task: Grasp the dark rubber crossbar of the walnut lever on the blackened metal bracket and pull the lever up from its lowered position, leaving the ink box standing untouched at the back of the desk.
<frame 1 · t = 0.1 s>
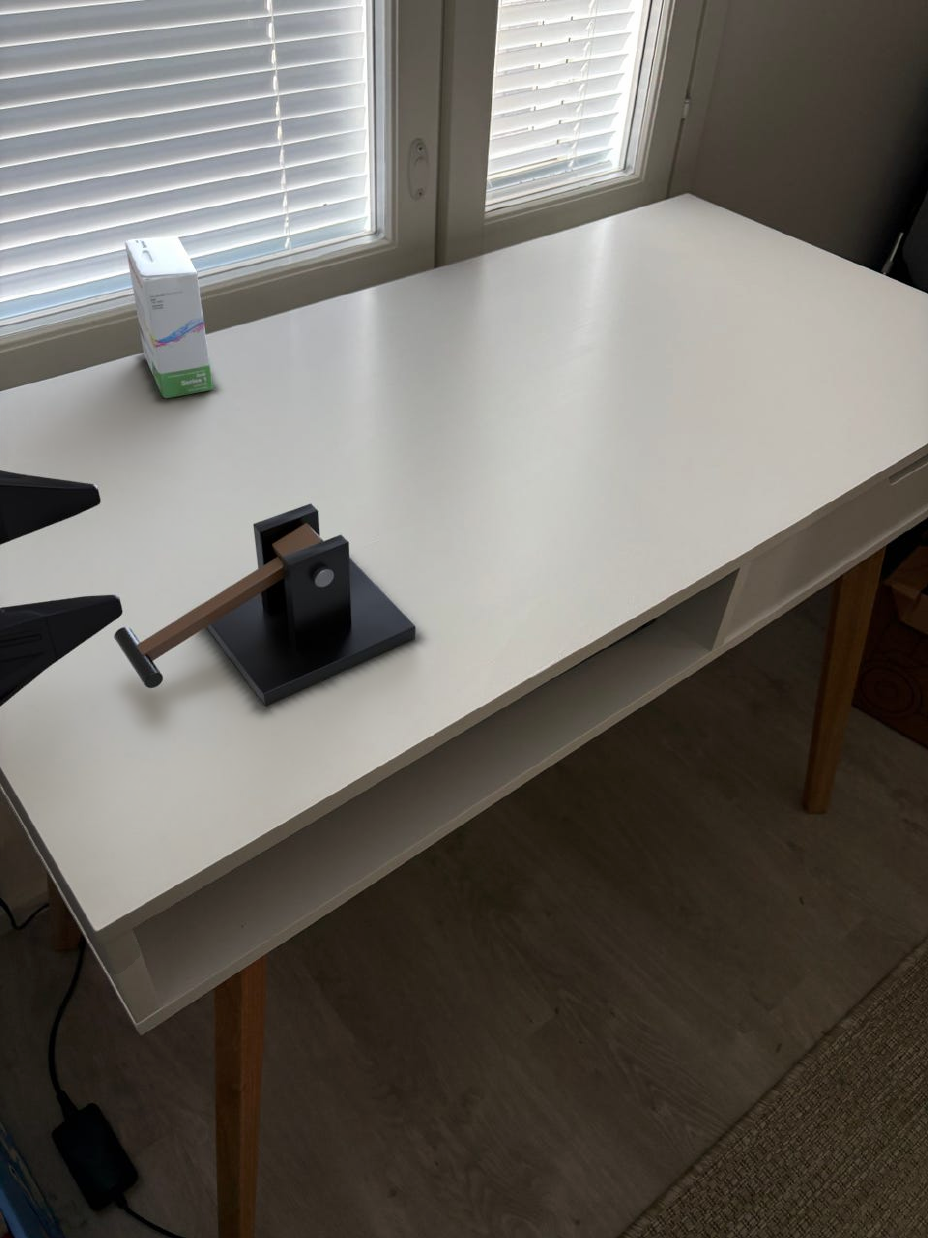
hand: (109, 545, 51), 18 cm above the table, tool horizontal, fingers open, 9 cm apart
ink box: (178, 375, 97), on the table
bracket: (307, 628, 73), on the table
lever: (227, 600, 66), point 5 cm above the table, hinge at -15.0°
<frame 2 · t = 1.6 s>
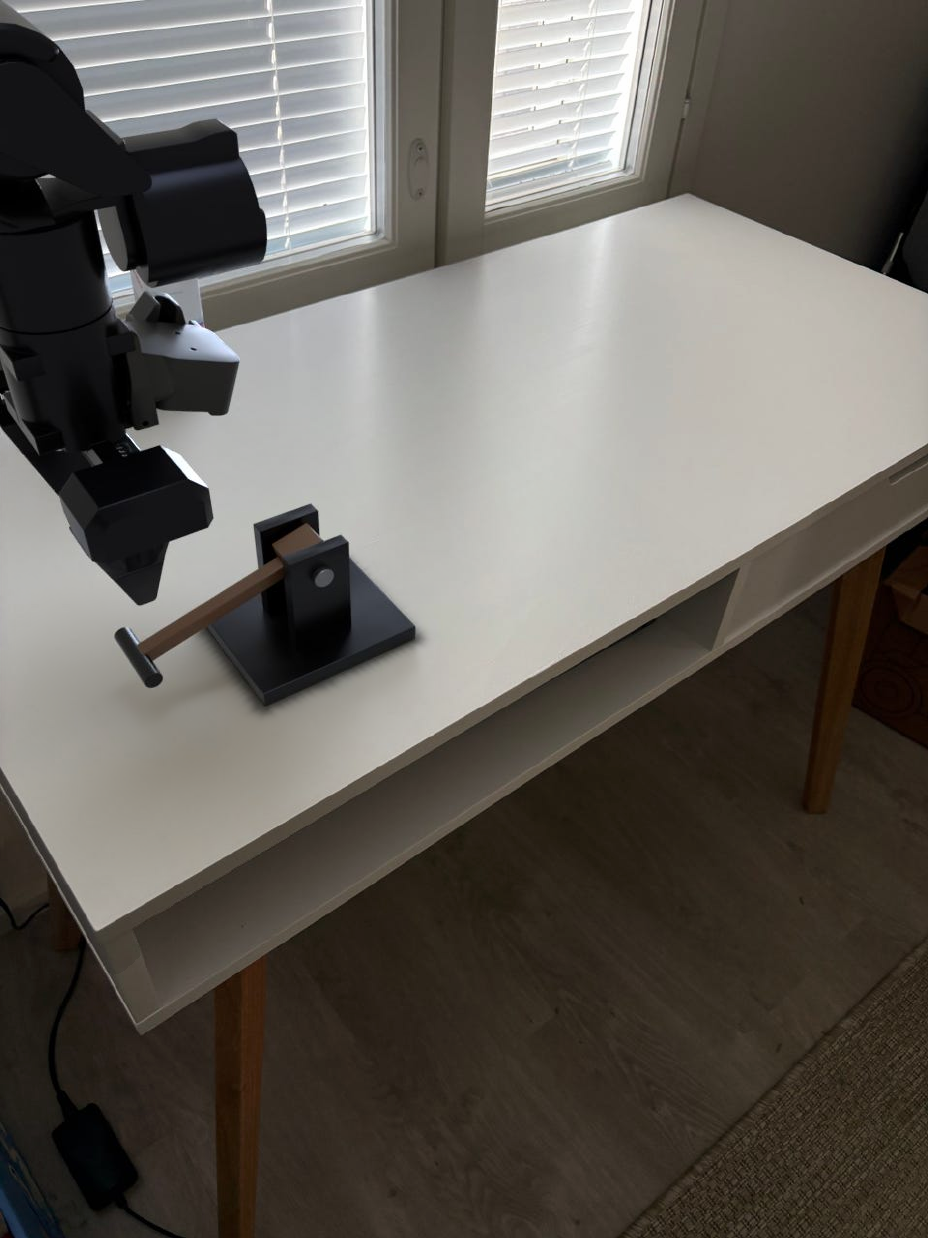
hand: (114, 556, 59), 12 cm above the table, tool pointing down, fingers open, 9 cm apart
nothing on the table moved.
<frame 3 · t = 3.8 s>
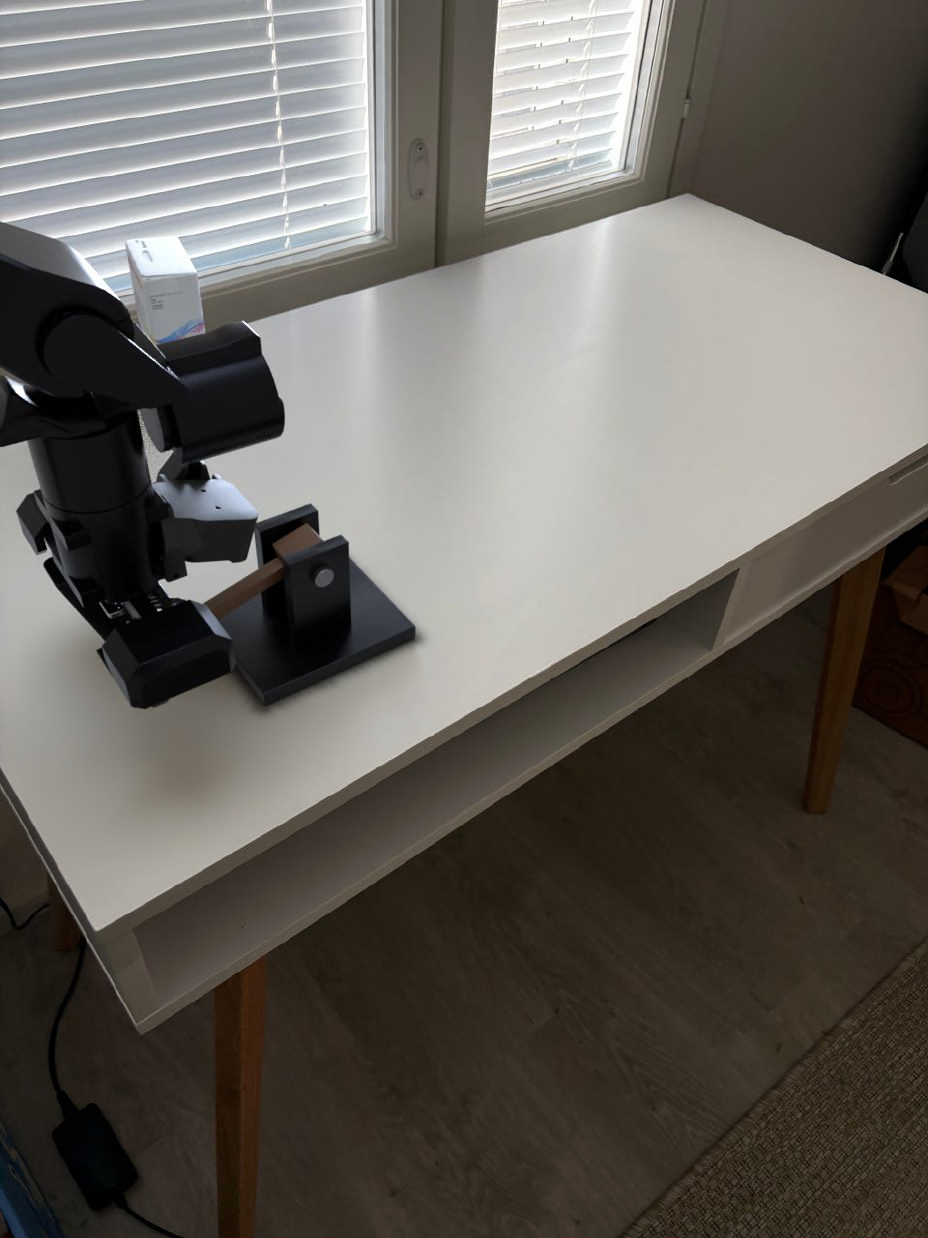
hand: (143, 678, 66), 2 cm above the table, tool pointing down, fingers closed on lever, 5 cm apart
lever: (227, 600, 66), point 5 cm above the table, hinge at -15.0°, touching gripper
everything else where it was.
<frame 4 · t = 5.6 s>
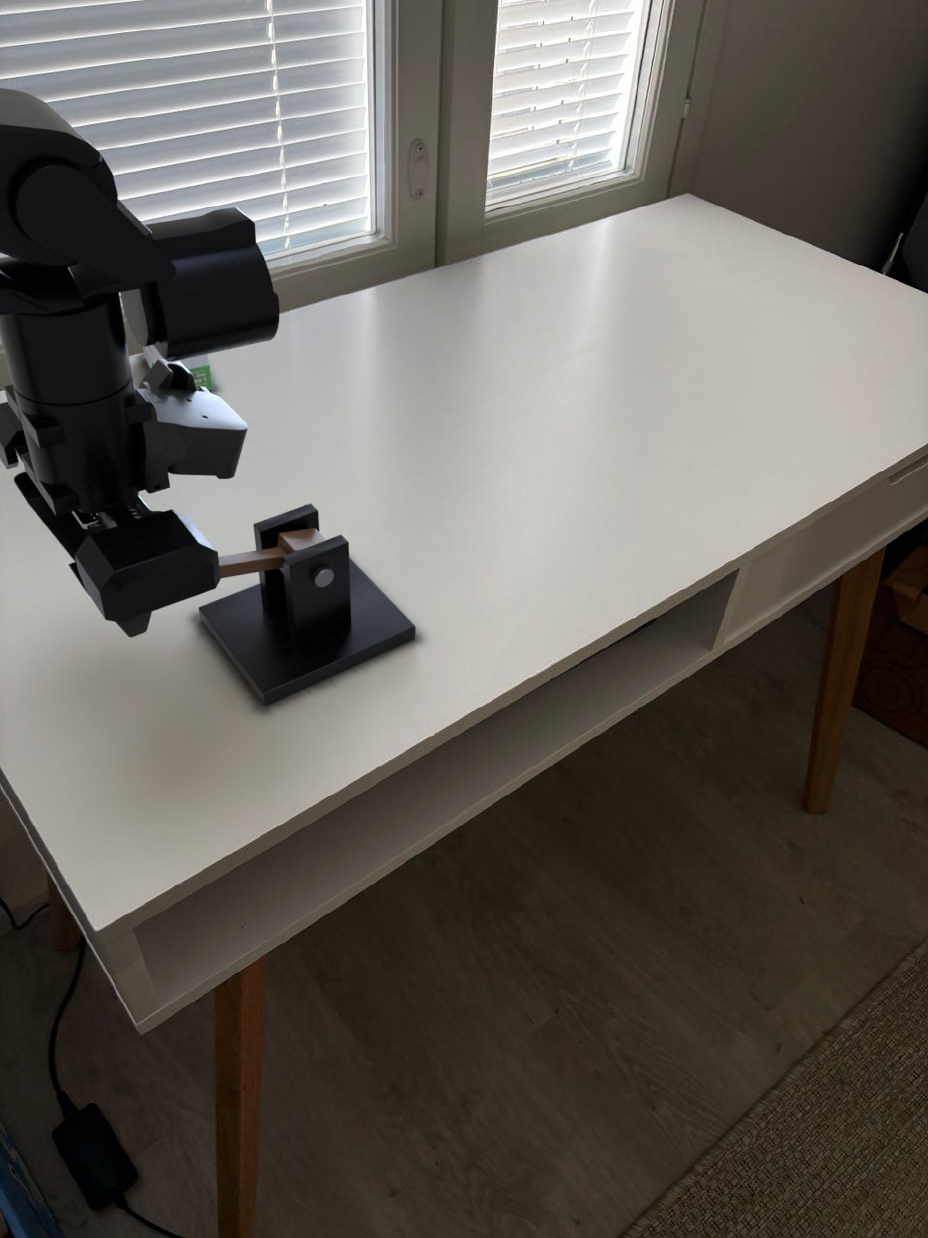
hand: (119, 607, 61), 8 cm above the table, tool pointing down, fingers closed on lever, 5 cm apart
lever: (222, 567, 64), point 8 cm above the table, hinge at 14.0°, touching gripper
everything else where it was.
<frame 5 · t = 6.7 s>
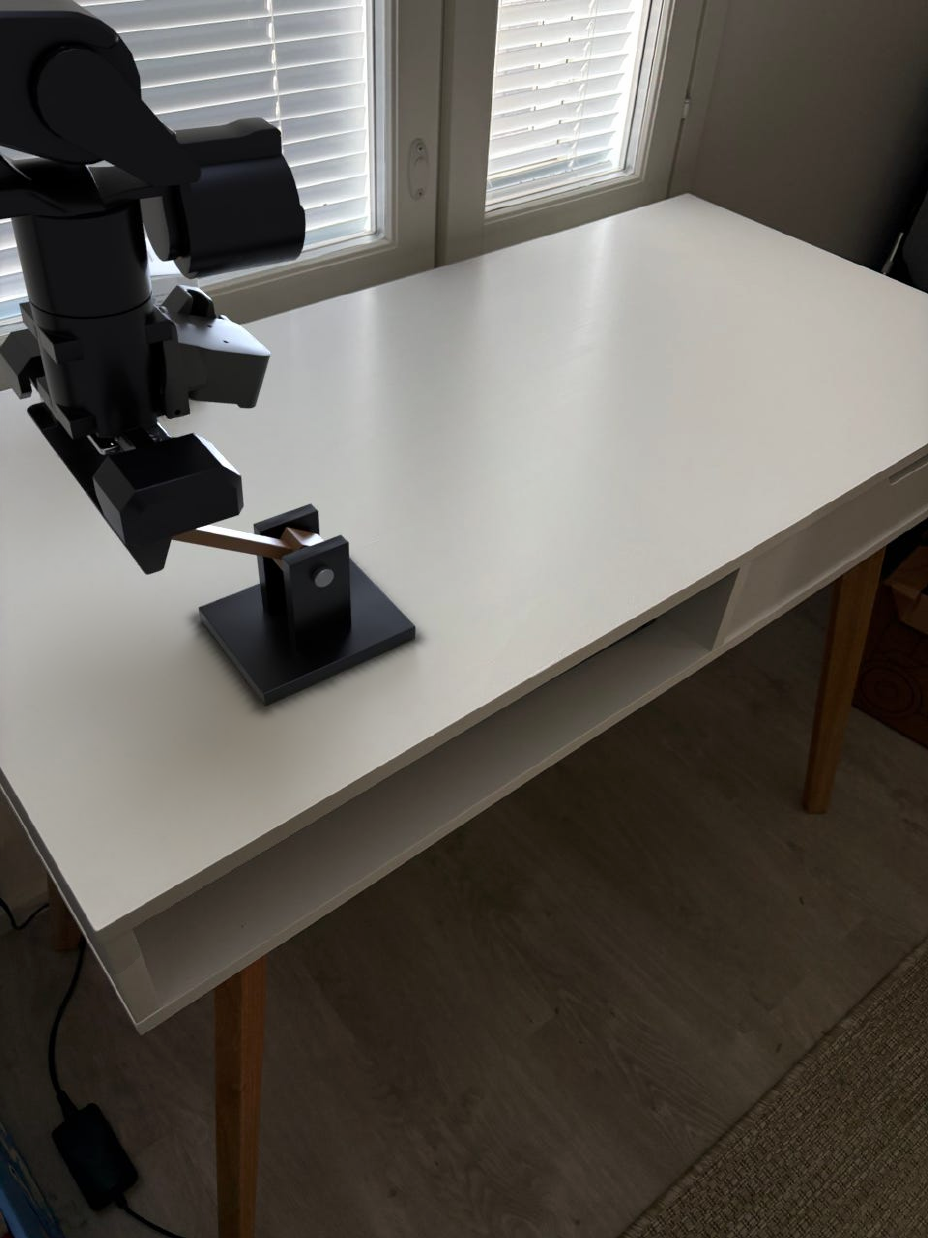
hand: (135, 546, 59), 12 cm above the table, tool pointing down, fingers closed on lever, 5 cm apart
lever: (231, 540, 63), point 10 cm above the table, hinge at 33.9°, touching gripper
everything else where it was.
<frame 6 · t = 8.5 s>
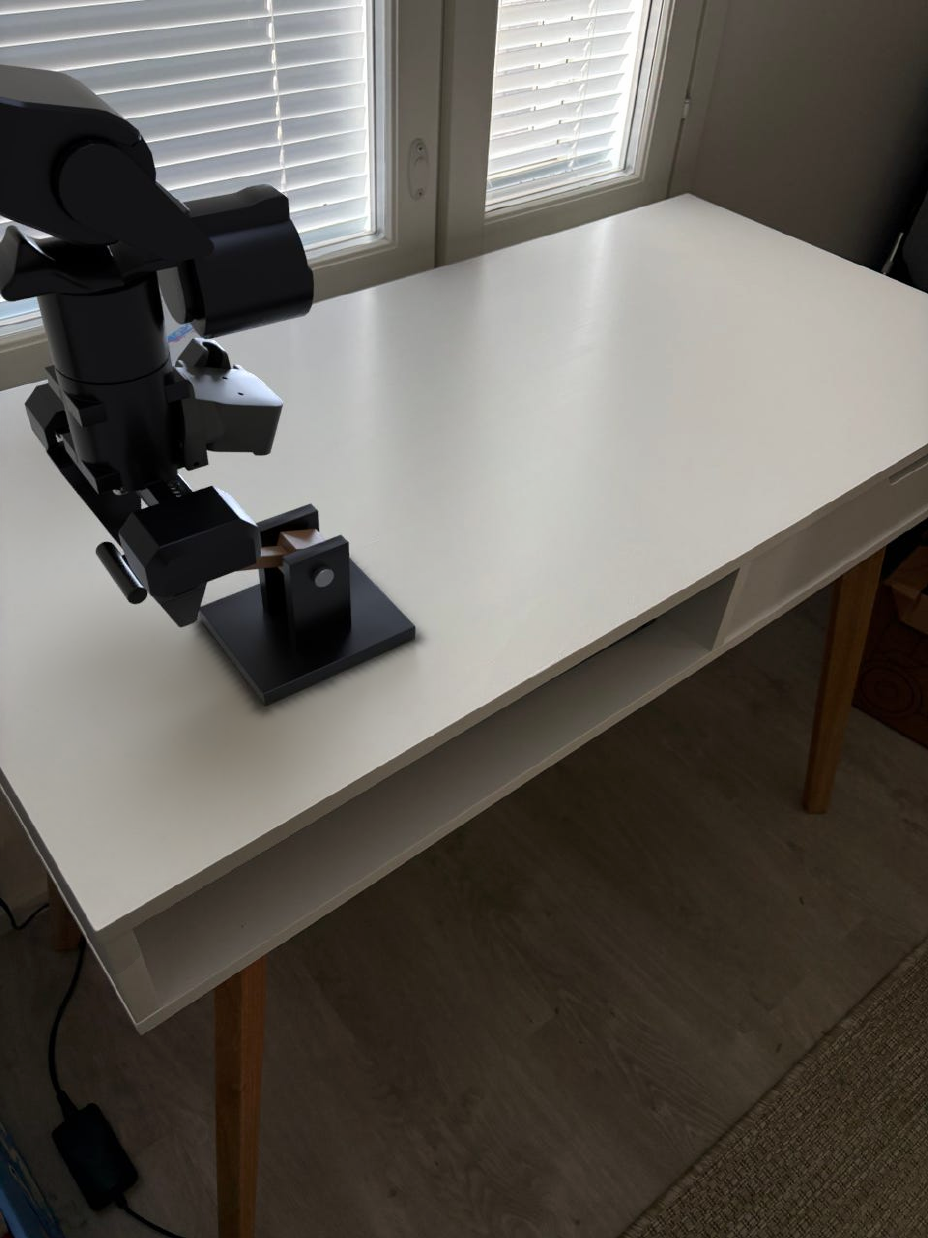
hand: (159, 585, 62), 9 cm above the table, tool pointing down, fingers open, 8 cm apart
lever: (223, 561, 64), point 9 cm above the table, hinge at 17.9°
everything else where it was.
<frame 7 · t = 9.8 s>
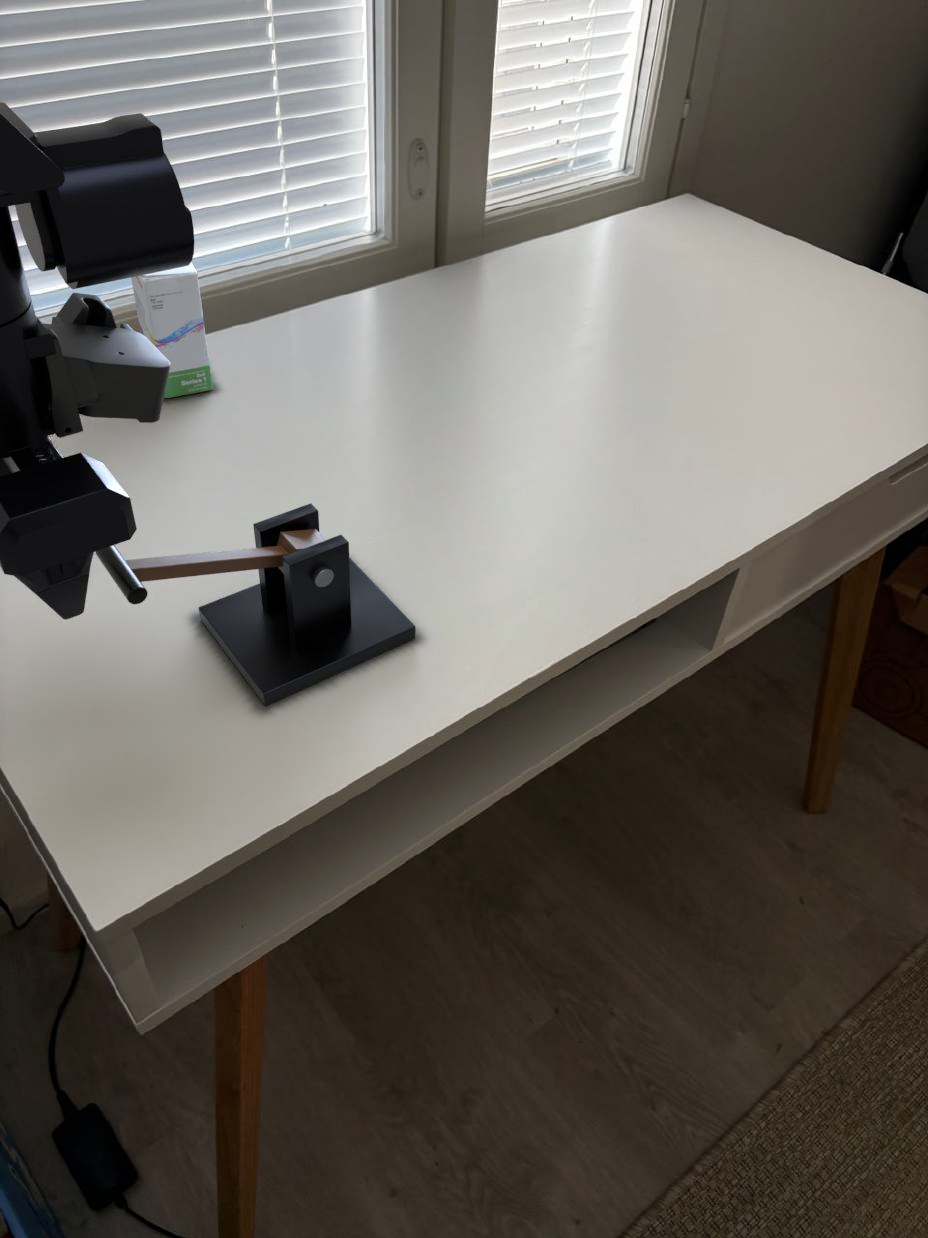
hand: (43, 567, 57), 13 cm above the table, tool pointing down, fingers open, 9 cm apart
nothing on the table moved.
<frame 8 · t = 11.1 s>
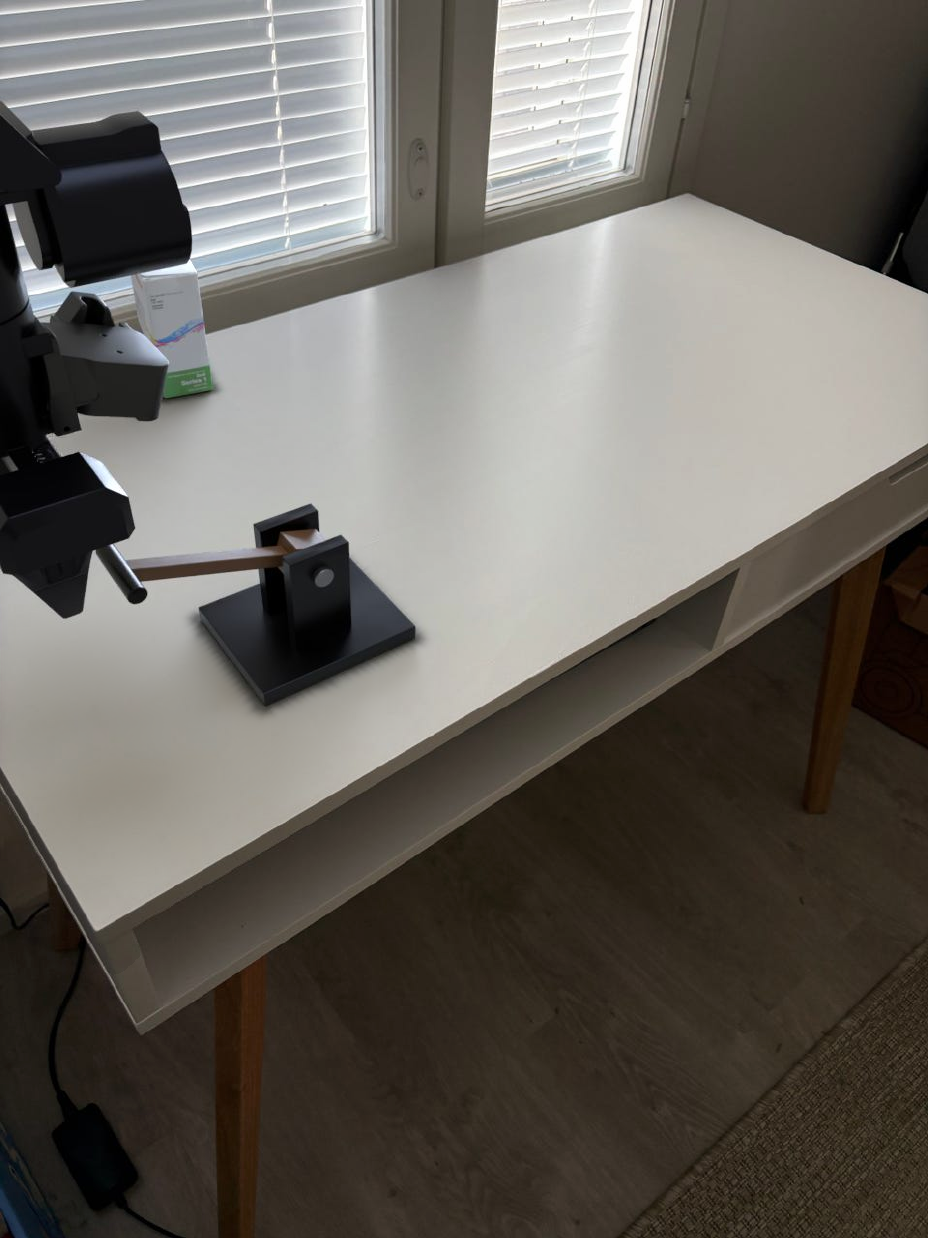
hand: (42, 566, 56), 13 cm above the table, tool pointing down, fingers open, 9 cm apart
nothing on the table moved.
at the end: lever at +18° (first picture: -15°); ink box moved 0.2 cm from its start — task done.
